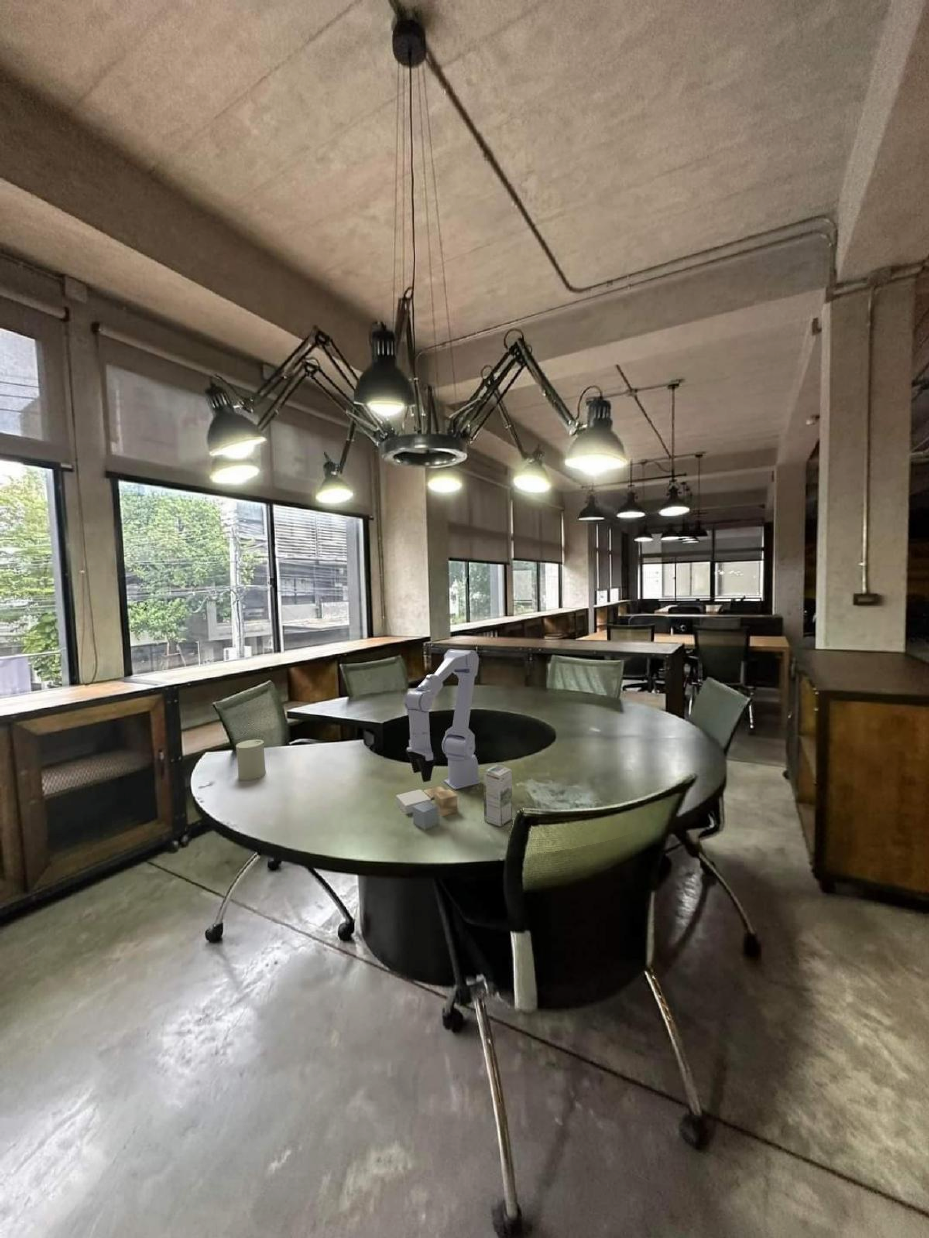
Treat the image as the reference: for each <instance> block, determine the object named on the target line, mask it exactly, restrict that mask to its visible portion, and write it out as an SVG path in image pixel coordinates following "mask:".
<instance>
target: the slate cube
mask: <svg viewBox="0 0 929 1238" xmlns="http://www.w3.org/2000/svg"><path fill="white" fill-rule="evenodd" d="M412 819H413V823H412V824H413V825H415V826H416V827H419V828H421V829H422V830H424V831H425V830H428V829H429V828H431V827H434V826H436V825H439V822H440V821H439V819H440V818H439V813H438V806H437V805H435V803H433V802H432V801H431V802H429V801H425V802H422V803H420V804H417V805H415V806H413V813H412Z"/></svg>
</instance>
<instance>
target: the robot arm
mask: <svg viewBox="0 0 929 1238" xmlns="http://www.w3.org/2000/svg"><path fill="white" fill-rule="evenodd" d="M479 663H480V658H479V656H478V654H477V651H475V650H473V649H471V650H468V649H453V648H450V649H448V650H447V651H446V653H444V655H443V661H442V663H440V665H439V667H438V668H437V670H436V671H435V672H434V673H433V674H427V675H426V677H425V678H424V679H423V680H422V682H421V683H420V684H418V686H417V687H416V688H415V689H414V690H410V691H409V692H407V693H406V695H405V698H404V701H403V705H404V707H405V709H406V713H407V715H408V720H409V738H410V739H408V747H406V749H405V753H406V754H407V756H408V758H409V761H410V764H411V768H412V771H413V773H414V774H417V773H420V774H421V779H422V782H423V783H426V782H427V783H428V782H431V779H432V775H433V769H434V767H435V765H436V763H437V760H438V759H437V757H436V756H435V755H434V753H433V751H432V746H431V736H430V734H431V732H430V731H431V730H430V717H429V716H430V710H431V709H432V707H433V703H434V701H435V697H436V696H437V695H438V693H439V692H441V689H443V687H444V683H443V682H444V681H445V680H446V679H447V678H448V677H449V676H450V675H451V674H452V673H453V674H454V675H455V676H457V678H458V685H457V690H456V691H457V692H456V698H455V706H454V711H453V712H454V713H453V720H452V726H451V727H449V728H447V730H445V734H444V736H443V739H442V741H441V749H442V752H443V753H444V755H445V757H446V758H447V767H448V768H447V769H448V778H447V779H444V780H443V782H444V783H446V785H448V786H449V787H450V788H452V789H453V790H458V789H459V790H460V789H464V788H466V787H467V788H468V787H470V786H474V785H477V784H478V785H479V784H480V783H481V781H480V780H479V762H478V759H477V756H476V755H475V754H474V753H475V750H476V741H475V737H476V736H475V734H474V733H473V731H472V730H471V729H470V728H469V722H470V716H471V710H472V709H471V708H472V701H473V693H474V686H475V685H474V684H475V677H477V676H478V671H479Z"/></svg>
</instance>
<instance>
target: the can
mask: <svg viewBox="0 0 929 1238" xmlns="http://www.w3.org/2000/svg"><path fill="white" fill-rule="evenodd" d="M235 749H236V758H237V761H236V762H237V774H238V775H237V777H238V779H239V780H241V781H251V780H256V779H260V778H262V777H264V776H265V775H266V774H267V770H266V761H265V760H266V759H265V743H264V740H263V739H257V738H256V739H249V740H248V739H247V740H243V741H241V742H239V743H236V744H235Z"/></svg>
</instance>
